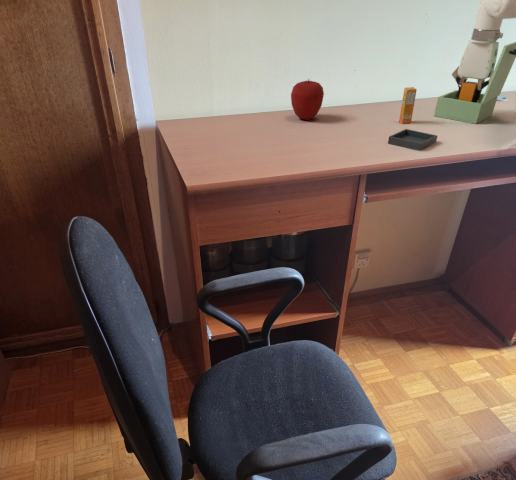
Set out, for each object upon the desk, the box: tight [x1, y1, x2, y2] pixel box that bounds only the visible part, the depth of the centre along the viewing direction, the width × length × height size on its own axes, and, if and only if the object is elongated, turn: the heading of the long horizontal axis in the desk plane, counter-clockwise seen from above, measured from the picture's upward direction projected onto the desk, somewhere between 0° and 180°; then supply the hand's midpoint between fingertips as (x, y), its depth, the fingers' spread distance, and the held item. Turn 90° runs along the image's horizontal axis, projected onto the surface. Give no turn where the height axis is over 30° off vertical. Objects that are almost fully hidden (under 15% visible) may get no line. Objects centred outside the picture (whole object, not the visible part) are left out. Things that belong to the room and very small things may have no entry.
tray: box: [387, 128, 438, 152], centre depth 131 cm, size 10×10×2 cm
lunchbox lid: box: [481, 41, 516, 103], centre depth 140 cm, size 15×14×6 cm
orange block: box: [458, 80, 478, 102], centre depth 150 cm, size 4×4×9 cm
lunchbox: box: [433, 89, 498, 125], centre depth 152 cm, size 15×14×6 cm
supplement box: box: [398, 86, 417, 125], centre depth 144 cm, size 3×3×10 cm
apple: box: [290, 78, 325, 121], centre depth 147 cm, size 11×11×12 cm
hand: (466, 100), depth 151 cm, fingers closed on orange block, 4 cm apart
